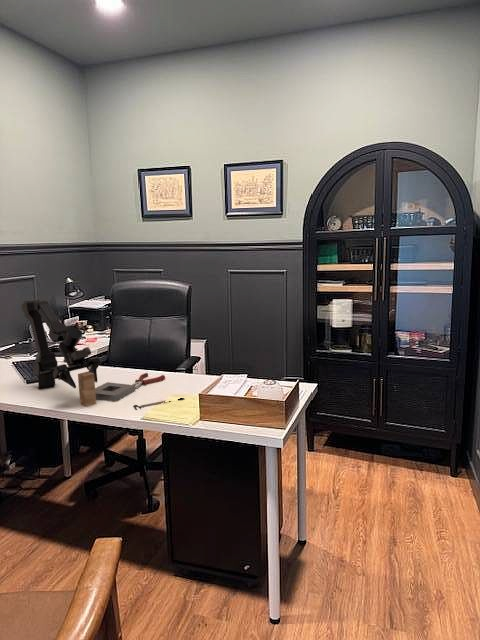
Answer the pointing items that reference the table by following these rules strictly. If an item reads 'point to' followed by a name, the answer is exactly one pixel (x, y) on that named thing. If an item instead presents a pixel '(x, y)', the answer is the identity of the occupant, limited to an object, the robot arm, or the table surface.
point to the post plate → (113, 391)
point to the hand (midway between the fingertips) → (86, 384)
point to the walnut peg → (87, 389)
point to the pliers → (149, 381)
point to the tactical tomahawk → (147, 405)
